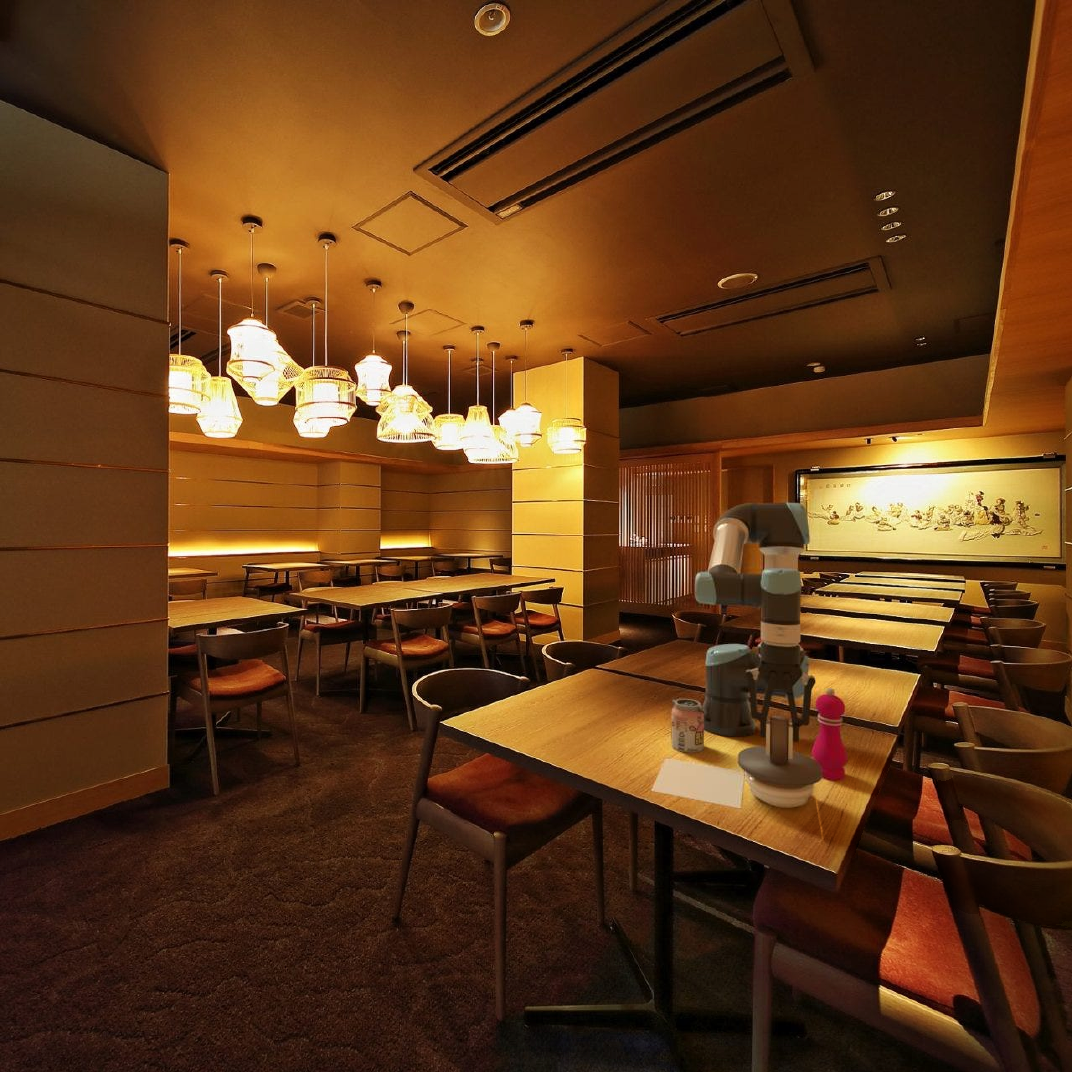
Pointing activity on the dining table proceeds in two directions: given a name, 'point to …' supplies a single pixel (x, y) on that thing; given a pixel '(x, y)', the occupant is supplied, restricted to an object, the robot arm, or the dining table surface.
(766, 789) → the bowl
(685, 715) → the beverage can
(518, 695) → the dining table surface
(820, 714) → the pepper mill
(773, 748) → the lid
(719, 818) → the dining table surface
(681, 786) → the mat
